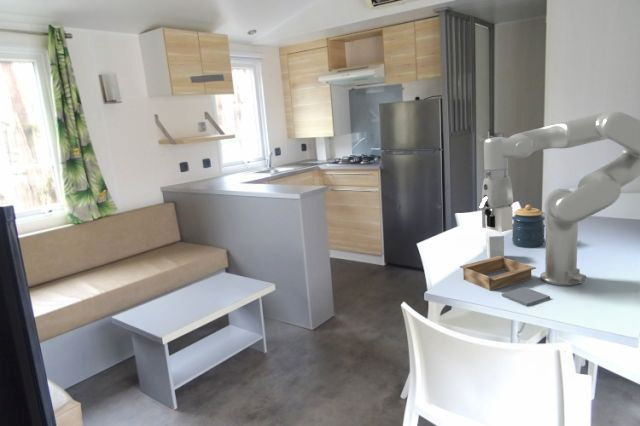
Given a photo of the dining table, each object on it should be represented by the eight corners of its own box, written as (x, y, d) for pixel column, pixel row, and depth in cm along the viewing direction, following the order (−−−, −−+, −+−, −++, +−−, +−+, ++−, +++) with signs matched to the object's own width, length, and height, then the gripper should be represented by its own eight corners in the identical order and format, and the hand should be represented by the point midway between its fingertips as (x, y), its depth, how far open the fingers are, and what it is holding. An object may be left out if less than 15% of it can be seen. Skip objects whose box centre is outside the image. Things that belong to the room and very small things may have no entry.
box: (512, 229, 155) (512, 206, 153) (501, 232, 153) (501, 209, 151) (493, 224, 163) (492, 203, 161) (482, 227, 161) (481, 205, 159)
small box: (504, 261, 179) (504, 236, 177) (489, 261, 180) (489, 236, 178) (500, 255, 186) (500, 230, 184) (486, 255, 188) (486, 231, 186)
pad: (549, 298, 142) (550, 296, 142) (526, 306, 138) (526, 303, 138) (524, 289, 151) (524, 286, 151) (501, 295, 147) (501, 293, 147)
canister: (538, 239, 204) (538, 200, 200) (549, 247, 191) (550, 206, 188) (508, 240, 205) (508, 202, 202) (517, 248, 193) (517, 208, 189)
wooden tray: (536, 279, 158) (536, 267, 157) (494, 292, 151) (494, 279, 150) (499, 267, 173) (498, 256, 172) (459, 278, 166) (459, 266, 165)
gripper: (485, 178, 147) (486, 231, 151) (523, 171, 154) (523, 222, 158) (469, 176, 154) (470, 227, 158) (506, 169, 161) (507, 219, 164)
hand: (497, 224), depth 158 cm, fingers closed on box, 5 cm apart
